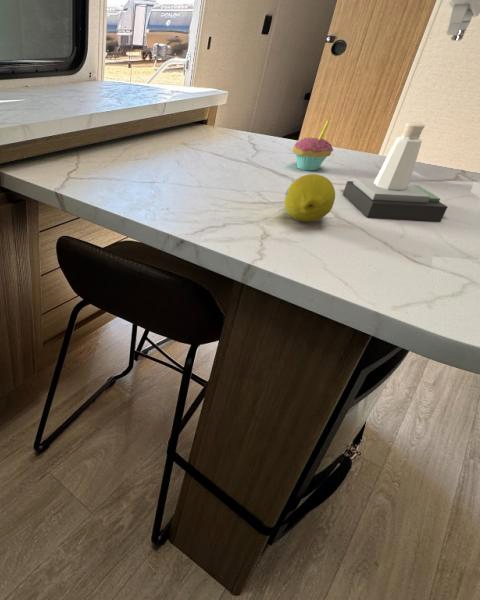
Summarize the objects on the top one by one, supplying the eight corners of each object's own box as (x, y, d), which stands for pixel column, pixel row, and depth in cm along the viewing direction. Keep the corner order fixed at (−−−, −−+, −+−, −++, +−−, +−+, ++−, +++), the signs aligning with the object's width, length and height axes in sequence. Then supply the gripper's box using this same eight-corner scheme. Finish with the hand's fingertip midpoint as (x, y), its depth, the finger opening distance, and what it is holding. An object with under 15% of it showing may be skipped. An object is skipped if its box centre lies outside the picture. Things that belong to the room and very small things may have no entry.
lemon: (285, 207, 80) (297, 165, 76) (330, 215, 76) (345, 171, 72) (272, 225, 72) (284, 180, 68) (321, 235, 69) (337, 188, 64)
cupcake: (333, 169, 101) (350, 116, 95) (313, 175, 97) (330, 120, 91) (300, 161, 107) (314, 111, 101) (280, 166, 103) (294, 115, 97)
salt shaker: (409, 185, 78) (436, 123, 72) (404, 192, 75) (433, 127, 69) (376, 180, 81) (399, 119, 75) (370, 186, 78) (394, 123, 72)
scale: (405, 197, 84) (414, 178, 82) (440, 221, 74) (451, 200, 71) (342, 194, 86) (349, 175, 84) (367, 217, 75) (375, 196, 73)
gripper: (506, -68, 70) (470, 29, 76) (507, -39, 83) (477, 42, 89) (458, -60, 73) (427, 32, 79) (467, -33, 87) (440, 44, 93)
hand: (453, 37), depth 84 cm, fingers open, 8 cm apart
